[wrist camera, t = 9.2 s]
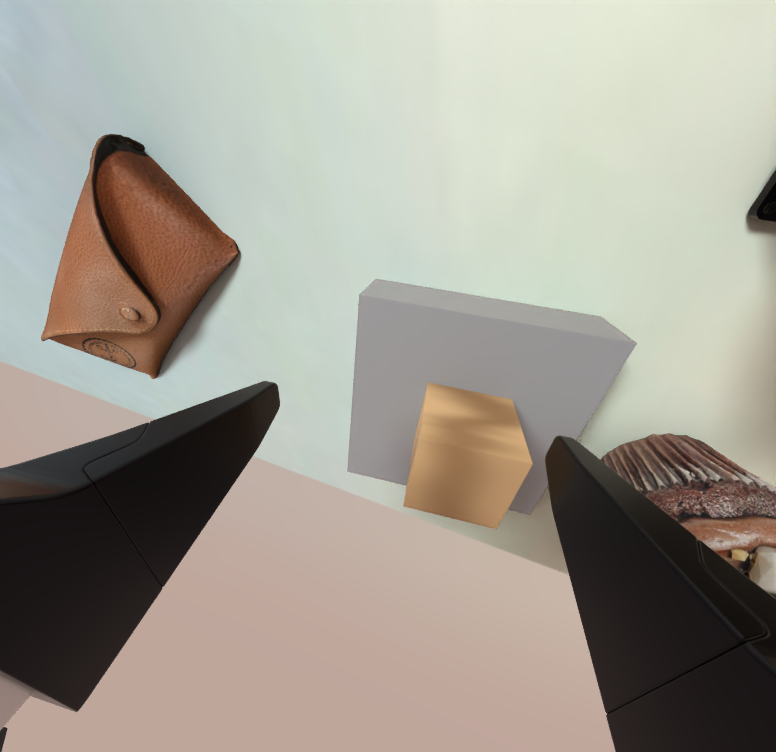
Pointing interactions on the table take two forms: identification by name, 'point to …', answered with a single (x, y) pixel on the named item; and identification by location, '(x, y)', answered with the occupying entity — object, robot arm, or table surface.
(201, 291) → the sunglasses case
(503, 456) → the oak cube
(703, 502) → the cupcake
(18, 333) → the table surface
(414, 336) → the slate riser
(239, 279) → the table surface
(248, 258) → the table surface
